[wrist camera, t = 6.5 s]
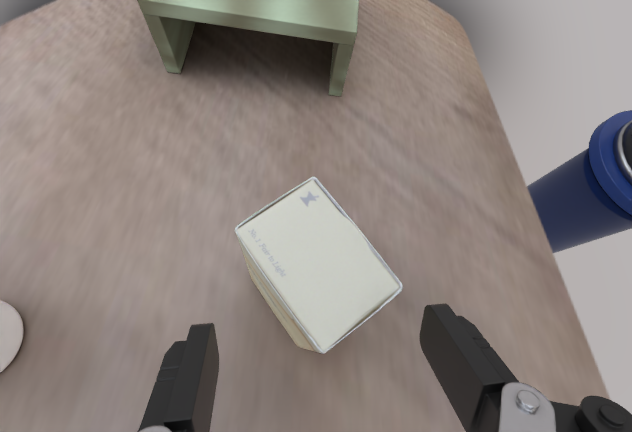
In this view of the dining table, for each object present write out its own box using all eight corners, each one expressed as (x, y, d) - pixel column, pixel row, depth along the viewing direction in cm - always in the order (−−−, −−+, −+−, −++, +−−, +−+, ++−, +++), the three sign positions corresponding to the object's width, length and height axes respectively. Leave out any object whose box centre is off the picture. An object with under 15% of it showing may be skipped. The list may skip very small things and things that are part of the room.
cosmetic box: (249, 278, 25) (224, 225, 13) (298, 244, 26) (313, 169, 15) (300, 351, 23) (319, 361, 12) (348, 311, 25) (408, 287, 13)
